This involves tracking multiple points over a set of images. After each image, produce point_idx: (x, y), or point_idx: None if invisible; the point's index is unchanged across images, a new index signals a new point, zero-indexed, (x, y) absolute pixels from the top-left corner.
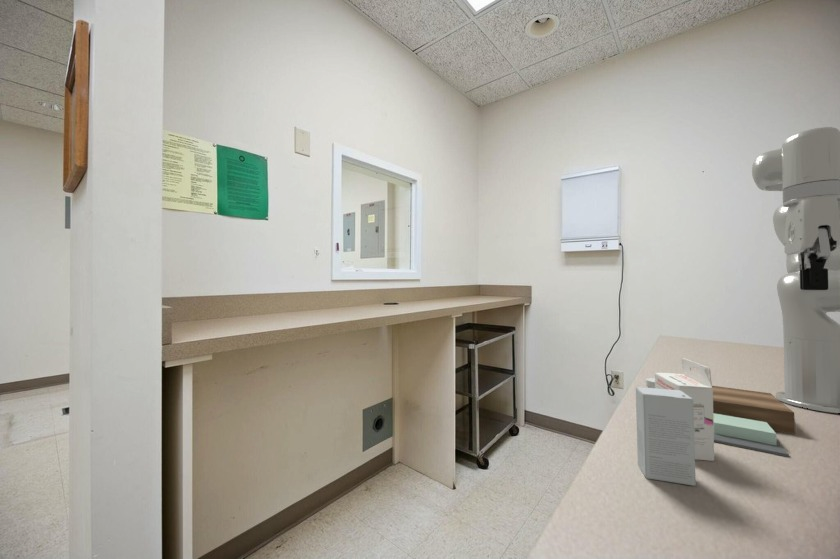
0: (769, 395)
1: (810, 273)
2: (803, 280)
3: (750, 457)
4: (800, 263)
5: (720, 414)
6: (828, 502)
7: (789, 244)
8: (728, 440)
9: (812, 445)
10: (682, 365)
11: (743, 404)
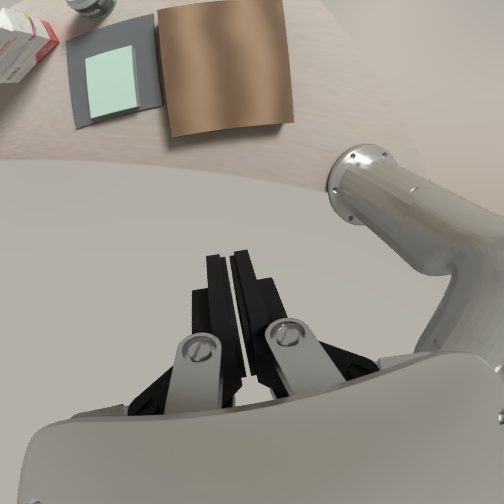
0: (273, 118)
1: (194, 327)
2: (208, 280)
3: (49, 101)
4: (293, 351)
5: (131, 57)
6: (6, 157)
7: (354, 481)
8: (76, 77)
9: (140, 148)
10: (2, 29)
11: (168, 79)
